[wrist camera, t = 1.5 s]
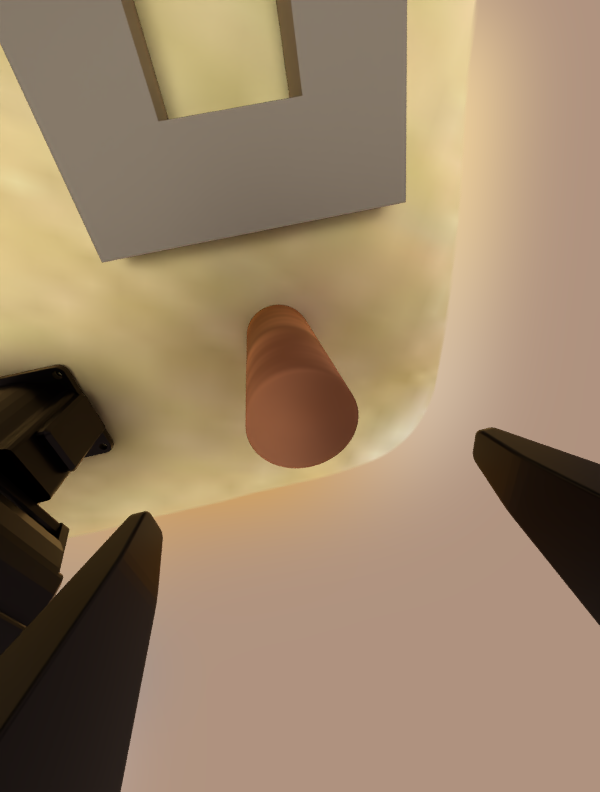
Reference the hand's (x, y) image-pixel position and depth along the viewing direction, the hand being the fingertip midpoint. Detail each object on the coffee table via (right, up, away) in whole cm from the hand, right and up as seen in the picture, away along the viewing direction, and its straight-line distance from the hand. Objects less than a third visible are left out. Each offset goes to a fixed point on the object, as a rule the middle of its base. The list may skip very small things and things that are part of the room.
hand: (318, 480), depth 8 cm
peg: (-2, +6, +11) cm, 13 cm away
